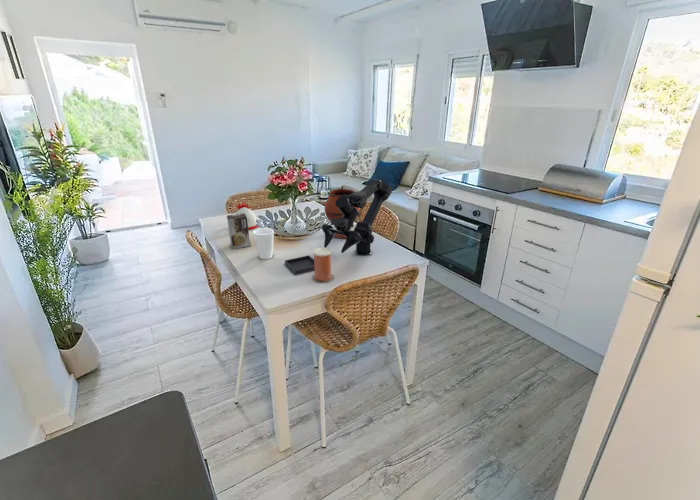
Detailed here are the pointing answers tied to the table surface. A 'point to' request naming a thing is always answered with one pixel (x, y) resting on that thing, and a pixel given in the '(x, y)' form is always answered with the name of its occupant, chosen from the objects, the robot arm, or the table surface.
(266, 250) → the foam cup
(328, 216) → the terracotta vase
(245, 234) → the coffee box
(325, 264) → the canister
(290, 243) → the table surface
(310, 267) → the tray
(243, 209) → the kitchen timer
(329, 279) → the coaster
